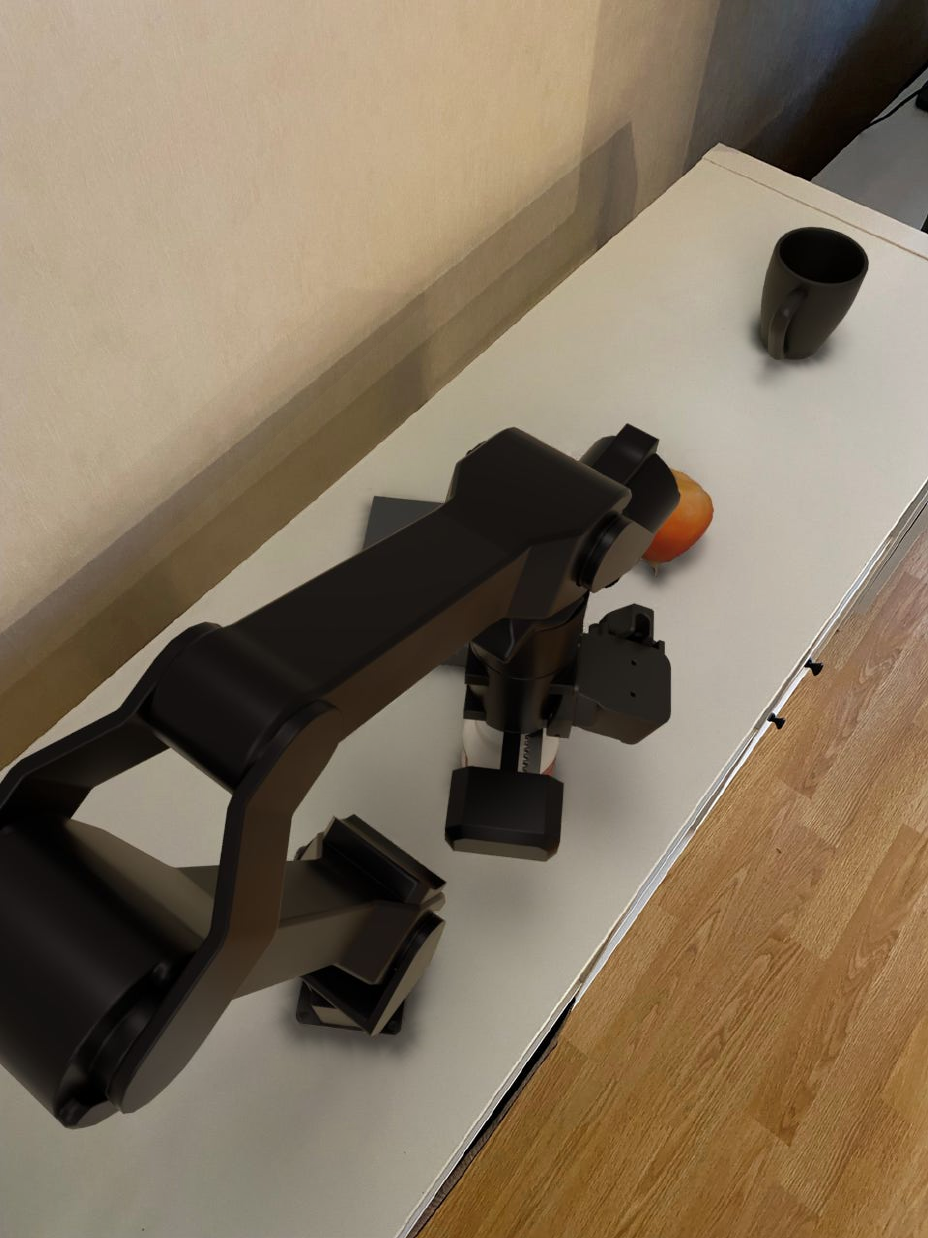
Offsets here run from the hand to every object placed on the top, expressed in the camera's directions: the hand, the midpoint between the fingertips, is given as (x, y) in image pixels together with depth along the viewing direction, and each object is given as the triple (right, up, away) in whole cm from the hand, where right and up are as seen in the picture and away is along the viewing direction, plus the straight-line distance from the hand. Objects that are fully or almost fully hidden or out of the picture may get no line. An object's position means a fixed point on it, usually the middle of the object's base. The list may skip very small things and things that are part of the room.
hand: (507, 755), depth 64 cm
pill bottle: (0, -3, +4) cm, 5 cm away
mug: (+27, +34, +28) cm, 52 cm away
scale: (-5, +12, +13) cm, 18 cm away
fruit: (+13, +16, +16) cm, 26 cm away
